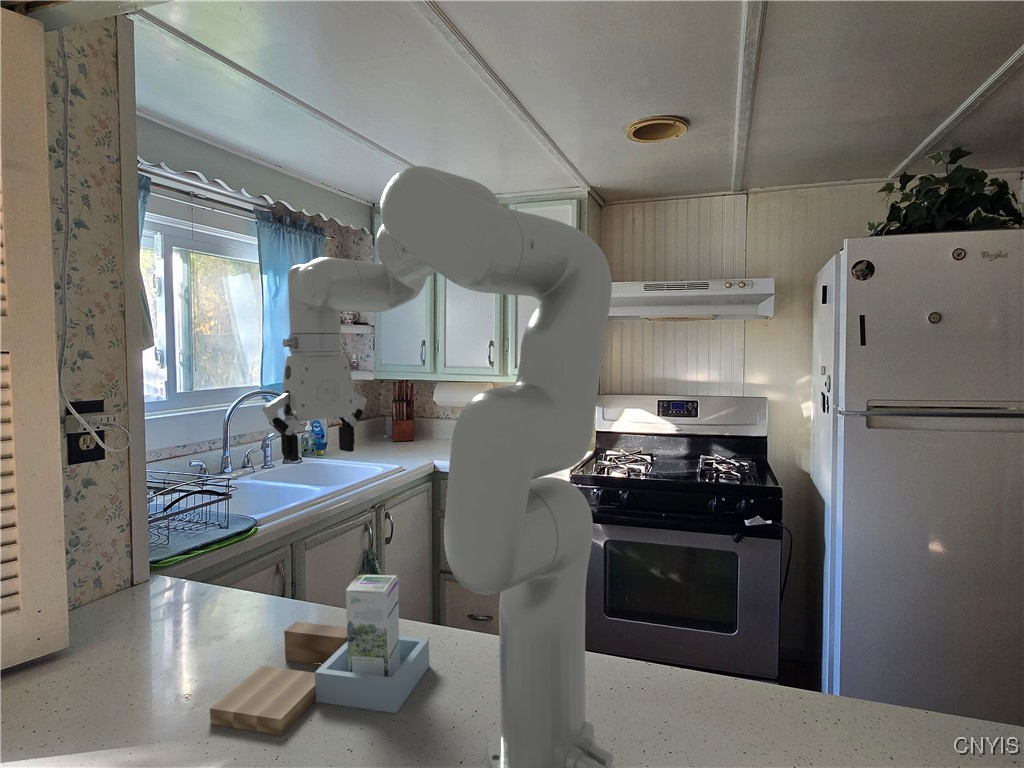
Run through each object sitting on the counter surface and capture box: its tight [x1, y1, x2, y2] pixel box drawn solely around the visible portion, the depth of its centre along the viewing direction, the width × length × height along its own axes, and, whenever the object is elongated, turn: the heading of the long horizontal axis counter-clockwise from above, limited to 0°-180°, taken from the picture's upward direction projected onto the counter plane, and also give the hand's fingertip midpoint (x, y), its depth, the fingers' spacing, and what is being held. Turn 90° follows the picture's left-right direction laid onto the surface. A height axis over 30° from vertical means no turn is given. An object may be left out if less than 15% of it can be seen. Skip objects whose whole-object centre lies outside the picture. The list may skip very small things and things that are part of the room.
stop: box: [283, 621, 347, 665], centre depth 88 cm, size 10×3×4 cm, turn 76°
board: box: [209, 665, 316, 736], centre depth 77 cm, size 10×10×2 cm
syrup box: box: [345, 574, 400, 678], centre depth 81 cm, size 6×6×14 cm
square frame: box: [314, 635, 430, 714], centre depth 82 cm, size 11×11×4 cm
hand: (319, 455), depth 93 cm, fingers open, 9 cm apart
